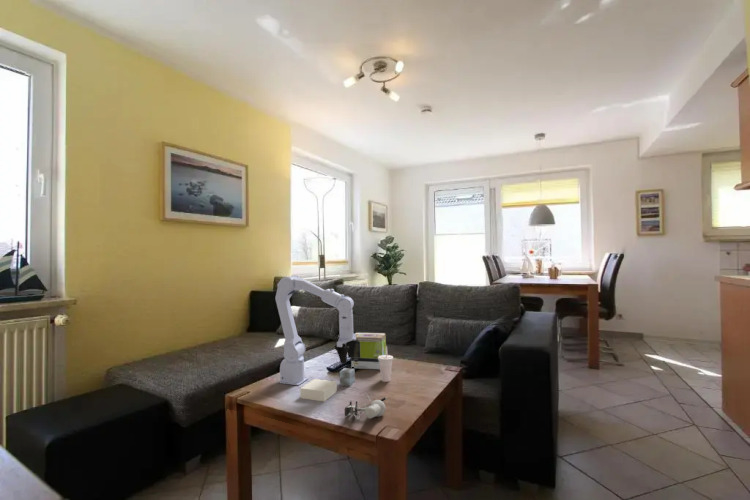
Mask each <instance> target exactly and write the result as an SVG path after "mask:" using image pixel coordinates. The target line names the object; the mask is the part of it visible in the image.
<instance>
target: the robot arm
mask: <svg viewBox="0 0 750 500" xmlns="http://www.w3.org/2000/svg"><path fill="white" fill-rule="evenodd" d="M276 284H277V290H276V293H275V298H274V299H275V303H276V308H277V310H278V311H277V312H278V315H279V319H280V324H281V327H282V332H283V336H284V342H283V349H284V350H283V358H284V359H283V360H281V363H280V365H279V366H280V367H279V379H280V380H279V384H283V385H293V386H300V385H302V384H303V383H304V382H306V381H307V380H309V377H306V376H305V358H304V354H305V353H306V344H305V343H303V340H302V337H300V335H298V330H297V326H296V322H295V318H294V314H293V310H292V306H291V302H290V299H291V297H292V296H293V294H294V293H296V291H305V292H309V293H310V294H312V295H315V296H317V297H320V299H321V301H322V302H324V303H326V304H327V305H329V306H332V307H334V308H337V311H338V324H339V326H338V328H339V331H338V332H339V338H338V341H336V344H335V345H334V348H335V351H336V352H337V355H338V358H339V361H340V363H341V364H347V360H348V358H350V359H351V358H353V357H354V352H355V348H356V345H357V342H358V339H356V334H355V333H354V314H353V311H354V310H353V308H354V304H355V302H354V300H353V298H351V297H350V296H348V295H347V296H346V295H345V294H343V293H342V294H341V293H338V292H336V291H335V289H334V288H327V289H324V288H322V287H320V286H318V285H316V284H314V283H312V282H311V281H308V280H306V279H305V278H303V277H299V276H297V275H291V276H285V277H282V278H281V279H280V281H279V280H278V283H276Z"/></svg>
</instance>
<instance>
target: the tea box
mask: <svg viewBox="0 0 750 500" xmlns="http://www.w3.org/2000/svg"><path fill="white" fill-rule="evenodd" d="M354 334H356V339H358V342H357V345H356V348H355V352H354V357H353V358H351V357H350V363H351V366H350V367H351V368H352V367H354V368H353V369H360V370H361V369H362V370H363V369H364V370H380V365H379V360H378V357H379V356H380V355H386V346H387V337H386V336H387V335H386V332H355V333H354Z"/></svg>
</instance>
